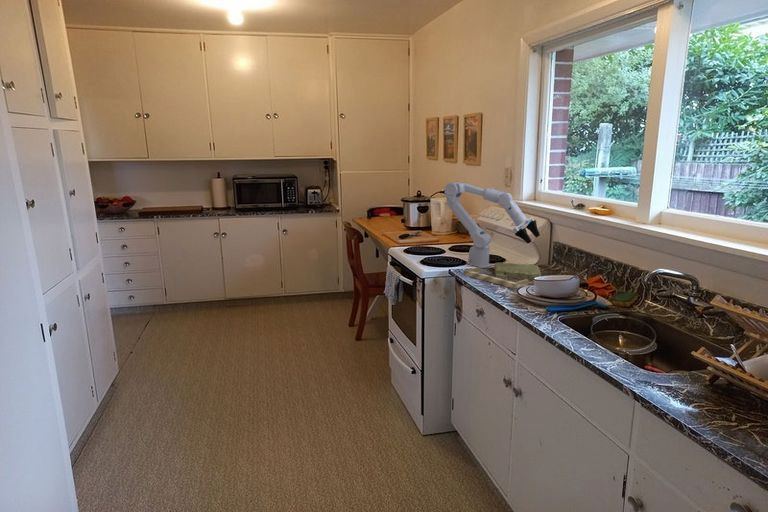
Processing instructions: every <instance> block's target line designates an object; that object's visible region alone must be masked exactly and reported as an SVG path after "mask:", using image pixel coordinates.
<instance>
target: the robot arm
mask: <svg viewBox="0 0 768 512" xmlns="http://www.w3.org/2000/svg"><path fill="white" fill-rule="evenodd" d="M463 193H471V194H473V195H478V196H482V198H483V199H484V200H486V201H488V202H492V203H495V204H498V205H499V206H500V207H503V209H504V210H505V212H506V214H507V215H508V217H510V219H511V220H512V222H513V223H514V224H515V227H514V228H513V229H512V231H513V233H514V235H515V236H516V237H518V238H520V239H521V240H523V241H524V242H525V243H526V244H530V243H531V242H532V238H531V237H530V236H529V233H528V232H527V230H529V232H530V233H531V234H532V235H533V236H534V237H535V238H539V236H541V234H540V231H539V229H538V224H537V220H536V219H534V217H533V216H530V217H529V218H527V217H526V215H525V214H524V212H523V210H522V209H521V208H520V207H519V205H518V204H517V203H516V201H514V198H513V195H512V194H511V193H509V192H508V191H505V192H504V190H497V189H494V187H492V186H490V187H486V188H481V187H478V186H476V185H473V184H469V183H467V182H461V181H458V180H457V181H454V182H448V183H447V184H446V185H445V188H444V195H445V198H446V199H445V200H446V203H447V206H448V208H449V209H450V210H451V212H452V213H453V214H454V216H456V218H457V219H458V220H459V222H461V224H462V225H463V227H464V228H465V230H467V231H468V232H469V234H470V238H471V240H472V241H473V246H471V247H470V248H469V250H468V251H469V252H468V263H467V265H469V266H473V267H476V268H477V267H479V268H481V269H484V268H487V267H491V266H493V264H492V263H490V243H491V242H492V237H491V235H490V233H488V232H486V231H485V230H484V229H483V228H481V227H480V226H479V225H478V224H477V222H475V220H474V219H473V218H472V216H471V215H470V213H468V212H467V210H466V209H465V208H464V207H463V205H462V203H460V198H461V195H462V194H463Z"/></svg>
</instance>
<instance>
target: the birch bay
mask: <svg viewBox="0 0 768 512" xmlns="http://www.w3.org/2000/svg"><path fill="white" fill-rule="evenodd" d="M481 271H482V268H481V267H477V266H476V267H473V268H470V269H465V270H464V271H463V276H466V277H470V278H474V279H478V280H480V281H485V282H488V283H491V284H495V285H496V284H497V285H499V286H503V287H506V288H511V289H513V290H515V289H518V288H522V287H525V286H527V285H530V283H529V282H530V279H520V280H518V281H515V282H514V281H512V280H507V279H504V278H501V277H496V276H492V275H487V274H484V273H481Z"/></svg>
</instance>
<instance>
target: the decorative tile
mask: <svg viewBox="0 0 768 512" xmlns="http://www.w3.org/2000/svg"><path fill="white" fill-rule="evenodd" d="M493 266H494V267H493V268H494V269H495V270H494V269H493V270H494V274H495V277H496V278H510V279H518V280H519V279H520V280H524V279H528V280H531V281H532V280H533V279H534V278H535V277H539V276H541V277H542V273H541V271H540V268H539V266H538V265H537V264H527V263H526V264H525V263H510V262H507V263H506V262H505V263H503V262H494V265H493Z"/></svg>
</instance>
